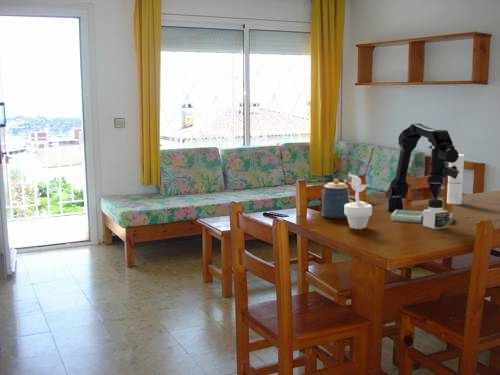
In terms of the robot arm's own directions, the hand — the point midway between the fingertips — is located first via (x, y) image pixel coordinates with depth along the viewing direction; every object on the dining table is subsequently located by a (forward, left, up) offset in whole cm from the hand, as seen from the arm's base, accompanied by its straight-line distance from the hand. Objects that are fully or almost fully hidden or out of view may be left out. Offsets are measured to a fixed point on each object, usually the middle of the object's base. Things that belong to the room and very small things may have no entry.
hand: (436, 196), depth 252 cm
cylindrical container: (+4, +58, -13) cm, 60 cm away
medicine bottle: (0, 0, -13) cm, 13 cm away
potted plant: (-30, -14, -13) cm, 36 cm away
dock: (0, +12, -13) cm, 18 cm away
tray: (-13, +12, -13) cm, 22 cm away
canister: (-45, +6, -13) cm, 47 cm away
